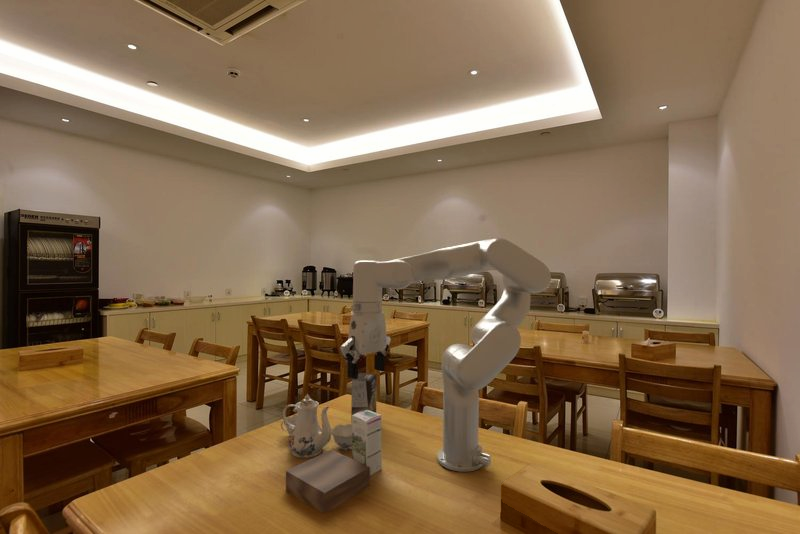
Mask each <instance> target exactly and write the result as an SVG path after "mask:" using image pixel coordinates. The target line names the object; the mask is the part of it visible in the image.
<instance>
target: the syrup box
mask: <svg viewBox="0 0 800 534" xmlns="http://www.w3.org/2000/svg"><path fill="white" fill-rule="evenodd" d="M382 418H383V417H382V414H380V413H377V412H376V413H375V412H372V411H369V410H364V411H360V412H358V413H356V414H354V415H352V445H351V446H352V449H351V450H352V451H351V456H352V457H351V459H353V460H355V461H358V462H360V463H362V464H364V465H366V466H368V467H370V476H372V475H374V474H376V473H377V472H380V471H381V470H382V468H383V466H382V465H383V464H382V463H383V462H382V461H383V459H382V447H383V446H382V440H383V439H382V437H383V436H382V429H383V428H382V426H383V425H382Z"/></svg>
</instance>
